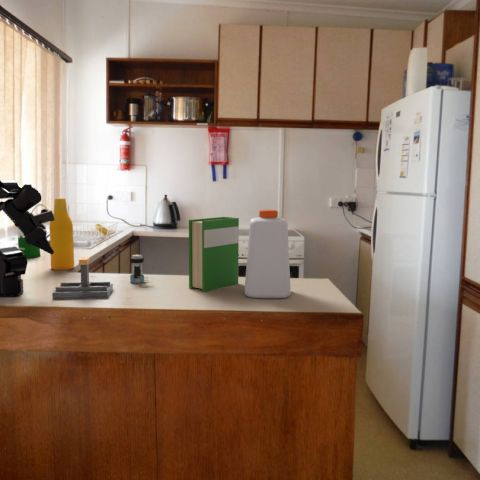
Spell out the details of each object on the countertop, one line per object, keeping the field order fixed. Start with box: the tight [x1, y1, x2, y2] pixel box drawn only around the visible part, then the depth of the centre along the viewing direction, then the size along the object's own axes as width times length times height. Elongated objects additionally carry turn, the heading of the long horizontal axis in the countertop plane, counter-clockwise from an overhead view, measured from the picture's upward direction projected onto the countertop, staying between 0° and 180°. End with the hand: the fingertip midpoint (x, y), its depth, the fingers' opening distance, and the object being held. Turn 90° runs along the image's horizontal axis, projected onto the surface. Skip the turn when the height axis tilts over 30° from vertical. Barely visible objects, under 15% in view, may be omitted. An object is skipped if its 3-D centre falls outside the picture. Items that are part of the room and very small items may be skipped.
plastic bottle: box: [243, 209, 292, 299], centre depth 167 cm, size 15×15×28 cm
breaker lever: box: [78, 257, 91, 286], centre depth 165 cm, size 3×5×10 cm, turn 7°
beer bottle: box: [48, 197, 75, 271], centre depth 209 cm, size 9×9×29 cm
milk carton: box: [16, 227, 41, 259], centre depth 236 cm, size 9×9×20 cm
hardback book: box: [188, 216, 240, 293], centre depth 178 cm, size 18×7×24 cm, turn 139°
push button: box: [129, 254, 149, 284], centre depth 184 cm, size 7×5×10 cm
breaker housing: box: [51, 281, 114, 300], centre depth 166 cm, size 17×12×3 cm
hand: (53, 253), depth 165 cm, fingers closed
